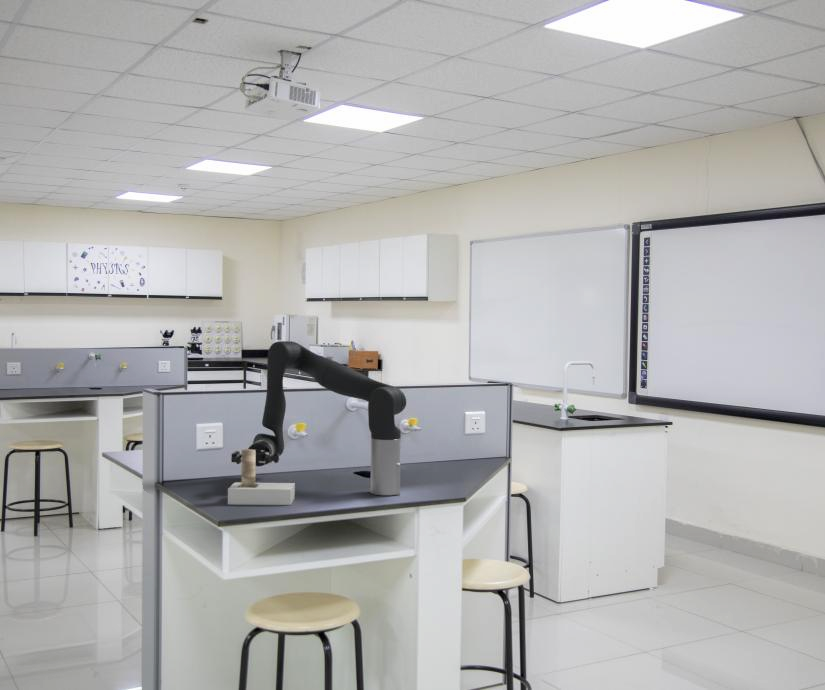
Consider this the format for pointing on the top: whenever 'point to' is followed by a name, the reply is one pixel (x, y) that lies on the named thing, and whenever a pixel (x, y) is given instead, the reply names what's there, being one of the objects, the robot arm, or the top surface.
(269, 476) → the top surface
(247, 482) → the birch peg
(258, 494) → the hole block
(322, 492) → the top surface
